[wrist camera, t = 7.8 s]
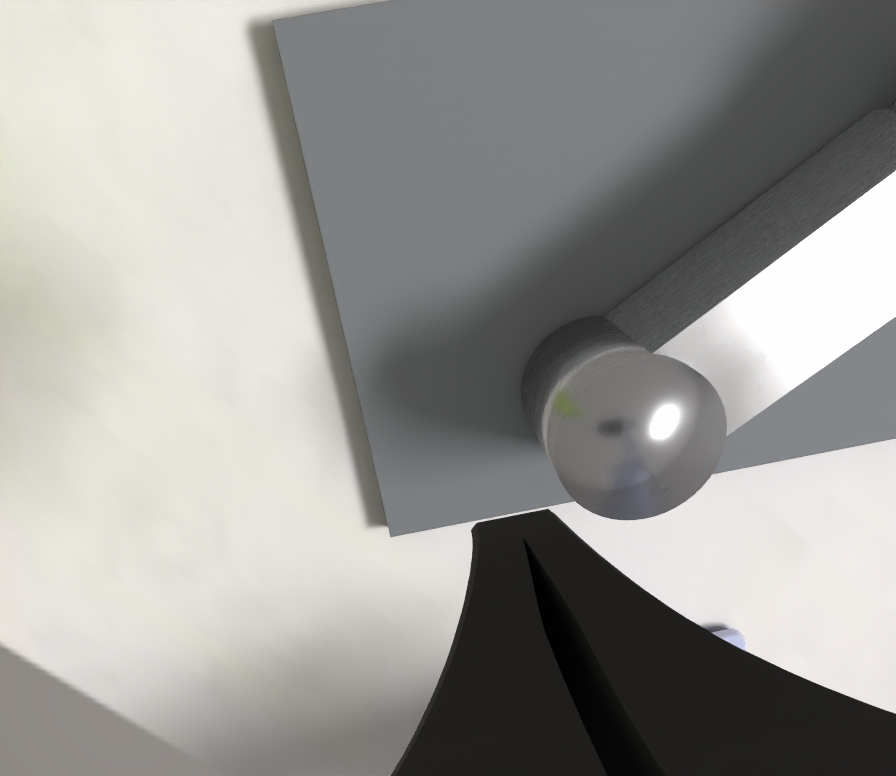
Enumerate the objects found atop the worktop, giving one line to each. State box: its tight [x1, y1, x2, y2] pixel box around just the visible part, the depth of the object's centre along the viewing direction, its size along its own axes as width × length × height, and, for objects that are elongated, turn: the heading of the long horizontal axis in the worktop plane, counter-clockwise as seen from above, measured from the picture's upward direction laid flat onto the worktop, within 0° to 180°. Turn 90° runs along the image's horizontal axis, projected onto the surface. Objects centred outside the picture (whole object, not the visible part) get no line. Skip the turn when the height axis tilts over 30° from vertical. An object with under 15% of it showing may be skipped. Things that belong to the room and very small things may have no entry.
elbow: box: [521, 99, 896, 520], centre depth 17 cm, size 14×5×5 cm, turn 129°
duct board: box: [272, 0, 896, 537], centre depth 17 cm, size 15×25×6 cm, turn 99°
